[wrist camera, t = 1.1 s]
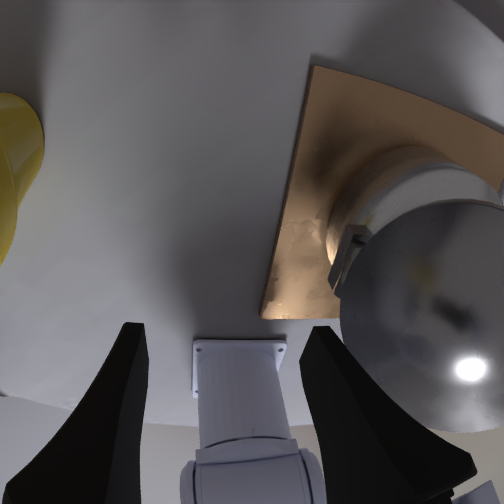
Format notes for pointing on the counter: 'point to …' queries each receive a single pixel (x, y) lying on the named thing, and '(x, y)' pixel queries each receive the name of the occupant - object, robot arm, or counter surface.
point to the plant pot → (16, 161)
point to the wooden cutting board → (366, 180)
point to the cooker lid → (431, 312)
